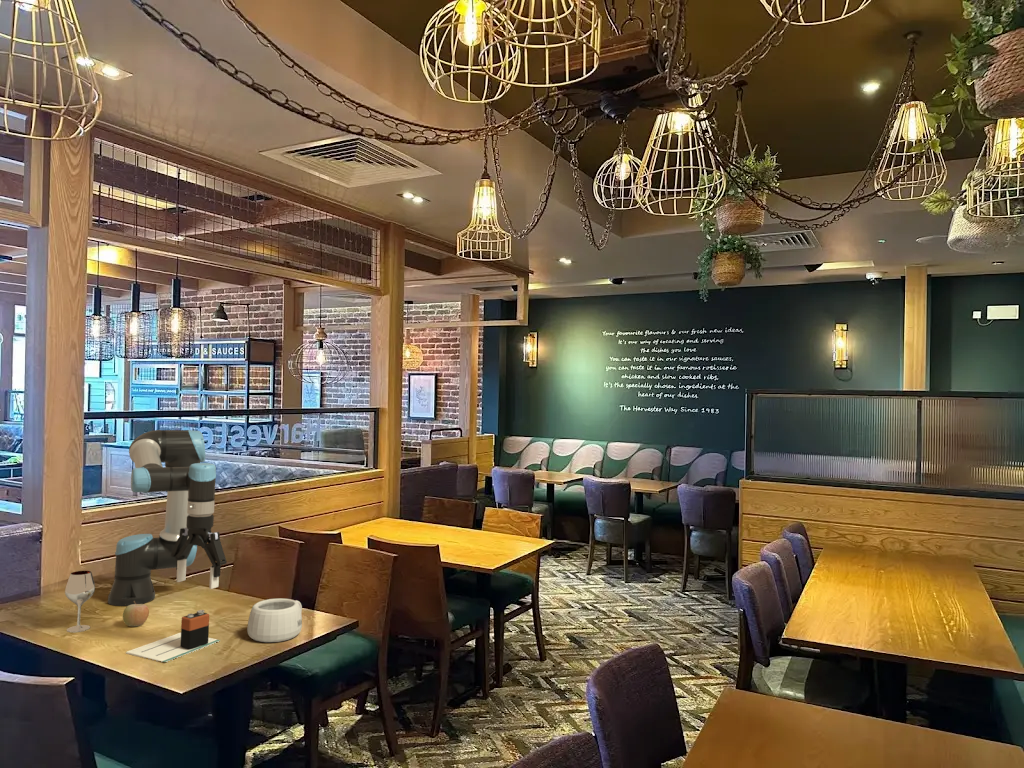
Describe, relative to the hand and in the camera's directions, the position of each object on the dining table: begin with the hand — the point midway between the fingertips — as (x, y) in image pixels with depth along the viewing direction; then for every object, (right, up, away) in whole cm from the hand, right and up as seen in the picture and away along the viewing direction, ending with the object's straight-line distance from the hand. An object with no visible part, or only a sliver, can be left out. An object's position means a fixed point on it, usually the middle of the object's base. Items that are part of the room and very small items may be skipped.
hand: (197, 584), depth 209 cm
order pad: (-6, -19, -1) cm, 20 cm away
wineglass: (-43, -18, +11) cm, 48 cm away
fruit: (-28, -19, +17) cm, 37 cm away
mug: (+20, -20, +14) cm, 32 cm away
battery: (-1, -19, -1) cm, 19 cm away
